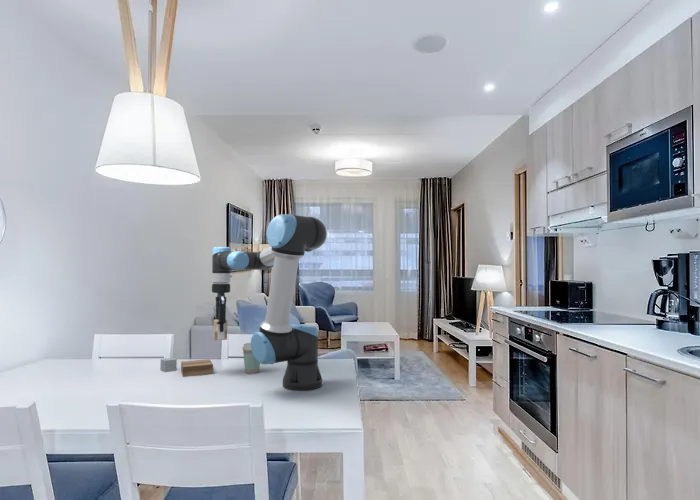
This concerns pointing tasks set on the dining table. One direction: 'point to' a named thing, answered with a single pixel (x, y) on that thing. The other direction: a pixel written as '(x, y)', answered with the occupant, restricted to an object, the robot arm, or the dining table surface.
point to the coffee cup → (250, 360)
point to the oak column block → (215, 333)
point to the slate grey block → (168, 364)
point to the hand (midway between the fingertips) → (220, 338)
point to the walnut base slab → (196, 367)
